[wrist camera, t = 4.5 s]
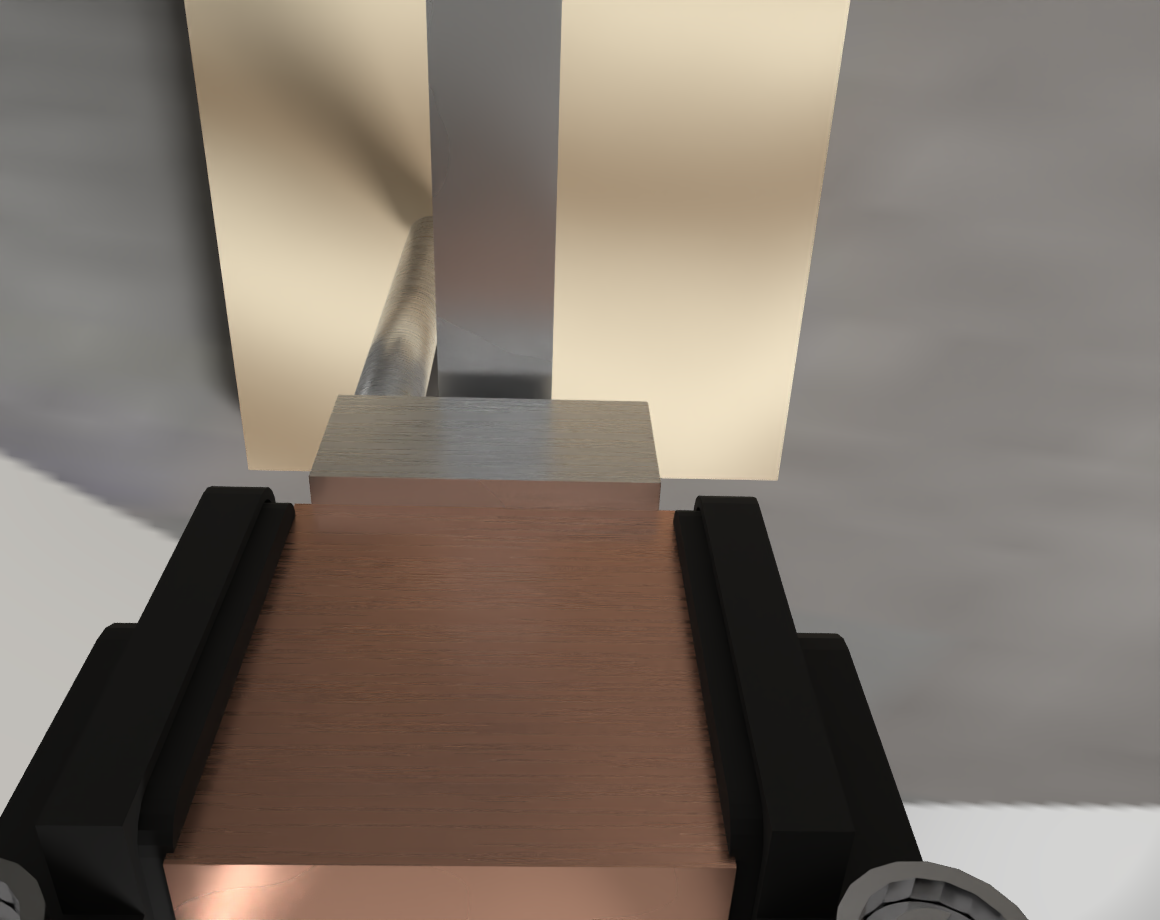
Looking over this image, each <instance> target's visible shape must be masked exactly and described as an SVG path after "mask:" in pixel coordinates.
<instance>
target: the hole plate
mask: <svg viewBox="0 0 1160 920" xmlns="http://www.w3.org/2000/svg"><path fill="white" fill-rule="evenodd" d="M184 4H185V11H186V18H187V25H188V33H189V40H190V47H191V54H192V62H193V69H194V76H195V83H196V91H197V98H198V105H199V112H200V120H201V127H202V134H203V142H204V149H205V156H206V163H207V171H208V178H209V185H210V192H211V200H212V207H213V214H214V221H215V229H216V236H217V243H218V250H219V258H220V265H221V272H222V279H223V287H224V294H225V301H226V309H227V316H228V323H229V330H230V338H231V345H232V352H233V359H234V367H235V374H236V381H237V388H238V396H239V403H240V410H241V417H242V425H243V432H244V439H245V447H246V454H247V461H248V468H249V470H280V471H311V469H312V466H313V463H314V460H315V458H316V455H317V452H318V449H319V447H320V444H321V441H322V438H323V435H324V433H325V430H326V427H327V424H328V422H329V419H330V416H331V413H332V411H333V408H334V405H335V402H336V400H337V397H338V395H354V394H355V391H356V388H357V385H358V382H359V379H360V376H361V373H362V370H363V367H364V364H365V361H366V358H367V355H368V352H369V349H370V346H371V343H372V340H373V337H374V334H375V331H376V328H377V325H378V322H379V319H380V316H381V313H382V310H383V307H384V304H385V301H386V298H387V295H388V293H389V290H390V287H391V284H392V281H393V278H394V275H395V272H396V269H397V266H398V263H399V260H400V257H401V254H402V251H403V248H404V245H405V242H406V239H407V236H408V233H409V230H410V228H411V226H412V225H413V224H414V223H415V222H416V221H417V220H419V219H420V218H422V217H426V216H433V206H432V176H431V145H430V115H429V84H428V54H427V23H426V0H184ZM849 5H850V0H562V20H561V58H560V96H559V134H558V172H557V209H556V247H555V285H554V323H553V361H552V399H555V400H600V401H645V402H648V405H649V412H650V418H651V424H652V430H653V437H654V443H655V449H656V455H657V462H658V468H659V474H660V478H685V479H735V480H778V474H779V467H780V460H781V454H782V447H783V441H784V434H785V427H786V421H787V414H788V408H789V401H790V394H791V388H792V381H793V375H794V368H795V361H796V355H797V348H798V342H799V335H800V328H801V322H802V315H803V309H804V302H805V295H806V289H807V282H808V276H809V269H810V262H811V256H812V249H813V243H814V236H815V229H816V223H817V216H818V210H819V203H820V196H821V190H822V183H823V177H824V170H825V163H826V157H827V150H828V144H829V137H830V130H831V124H832V117H833V111H834V104H835V97H836V91H837V84H838V78H839V71H840V64H841V58H842V51H843V45H844V38H845V31H846V25H847V18H848V12H849ZM426 397H439V390H438V359H437V345H436V350H435V354H434V359H433V364H432V368H431V373H430V378H429V383H428V387H427V392H426Z"/></svg>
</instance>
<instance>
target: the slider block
mask: <svg viewBox="0 0 1160 920" xmlns="http://www.w3.org/2000/svg"><path fill="white" fill-rule="evenodd" d="M436 345H437V329H436V298H435V267H434V237H433V216H426V217H422V218H420V219H419V220H417V221H416V222H415V223H414V224H413V225H412V226H411V228H410V230H409V233H408V236H407V239H406V242H405V245H404V248H403V251H402V254H401V257H400V260H399V263H398V266H397V269H396V272H395V275H394V278H393V281H392V284H391V287H390V290H389V293H388V295H387V298H386V301H385V304H384V307H383V310H382V313H381V316H380V319H379V322H378V325H377V328H376V331H375V334H374V337H373V340H372V343H371V346H370V349H369V352H368V355H367V358H366V361H365V364H364V367H363V370H362V373H361V376H360V379H359V382H358V385H357V388H356V391H355V394H354V395H338V397H337V400H336V402H335V405H334V408H333V411H332V413H331V416H330V419H329V422H328V424H327V427H326V430H325V433H324V435H323V438H322V441H321V444H320V447H319V449H318V452H317V455H316V458H315V460H314V463H313V466H312V469H311V471H310V474H309V483H310V493H311V502H312V504H295V506H294V509H295V514H296V515H295V518H294V520H293V523H292V526H291V529H290V531H289V534H288V537H287V540H286V543H285V545H284V548H283V551H282V554H281V556H280V559H279V562H278V565H277V568H276V570H275V573H274V576H273V579H272V581H271V584H270V587H269V590H268V593H267V595H266V598H265V601H264V604H263V606H262V609H261V612H260V615H259V618H258V620H257V623H256V626H255V629H254V631H253V634H252V637H251V640H250V643H249V645H248V648H247V651H246V654H245V656H244V659H243V662H242V665H241V668H240V670H239V673H238V676H237V679H236V681H235V684H234V687H233V690H232V693H231V695H230V698H229V701H228V704H227V706H226V709H225V712H224V715H223V718H222V720H221V723H220V726H219V729H218V731H217V734H216V737H215V740H214V743H213V745H212V748H211V751H210V754H209V756H208V759H207V762H206V765H205V768H204V770H203V773H202V776H201V779H200V781H199V784H198V787H197V790H196V793H195V795H194V798H193V801H192V804H191V806H190V809H189V812H188V815H187V818H186V820H185V823H184V826H183V829H182V831H181V834H180V837H179V840H178V843H177V845H176V848H175V851H174V853H167V855H166V857H165V860H164V863H163V867H164V871H165V875H166V880H167V884H168V888H169V892H170V897H171V901H172V905H173V909H174V914H175V918H176V920H728V917H729V911H730V905H731V899H732V893H733V887H734V881H735V874H736V862H735V857H729V852H728V846H727V840H726V834H725V828H724V822H723V816H722V810H721V804H720V798H719V792H718V786H717V780H716V774H715V768H714V762H713V757H712V751H711V745H710V739H709V733H708V727H707V721H706V715H705V709H704V703H703V697H702V691H701V685H700V679H699V673H698V667H697V661H696V655H695V649H694V643H693V637H692V631H691V625H690V619H689V613H688V607H687V601H686V595H685V590H684V584H683V578H682V572H681V566H680V560H679V554H678V548H677V542H676V536H675V530H674V524H673V518H674V513H675V511H661V510H659V500H660V488H661V480H660V474H659V468H658V462H657V455H656V449H655V443H654V437H653V430H652V424H651V418H650V412H649V405H648V402H645V401H600V400H555V399H511V398H466V397H426V392H427V387H428V383H429V378H430V373H431V368H432V364H433V359H434V354H435V350H436Z"/></svg>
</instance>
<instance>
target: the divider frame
mask: <svg viewBox="0 0 1160 920" xmlns="http://www.w3.org/2000/svg"><path fill="white" fill-rule="evenodd" d="M561 20H562V0H426V23H427V54H428V84H429V115H430V145H431V176H432V206H433V237H434V267H435V298H436V329H437V359H438V390H439V397H466V398H511V399H552V361H553V323H554V285H555V247H556V209H557V172H558V134H559V96H560V58H561Z"/></svg>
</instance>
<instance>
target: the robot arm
mask: <svg viewBox="0 0 1160 920" xmlns="http://www.w3.org/2000/svg"><path fill="white" fill-rule="evenodd" d="M295 515H296V514H295V509H294V507H293V505H292V504H291V503H276V502H275V497H274V494H273V492H272V490H271V489H270V488H269V487H223V486H211V487H208V488H207V489H206V490H205V492H204V493H203V495H202V497H201V499H200V501H199V503H198V505H197V507H196V509H195V511H194V513H193V515H192V517H191V519H190V521H189V523H188V525H187V527H186V529H185V531H184V532H183V534H182V536H181V538H180V540H179V542H178V544H177V546H176V548H175V550H174V552H173V554H172V557H171V558H170V560H169V562H168V564H167V566H166V568H165V570H164V572H163V574H162V576H161V578H160V580H159V582H158V584H157V586H156V588H155V590H154V592H153V594H152V596H151V598H150V600H149V602H148V604H147V606H146V607H145V610H144V612H143V613H142V616H141V617H140V619H139V621H138V623H114V624H112V625H110V626H108V627H106V628H105V629H104V631H103V632H102V634H101V635H100V636H99V638H98V639H97V641H96V643H95V644H94V646H93V648H92V650H91V652H90V654H89V655H88V657H87V659H86V661H85V663H84V665H83V666H82V668H81V670H80V672H79V674H78V676H77V677H76V679H75V681H74V683H73V685H72V687H71V688H70V690H69V692H68V694H67V696H66V698H65V699H64V701H63V703H62V705H61V707H60V709H59V710H58V713H57V714H56V716H55V718H54V720H53V722H52V723H51V725H50V727H49V729H48V731H47V732H46V734H45V736H44V738H43V740H42V742H41V744H40V745H39V747H38V749H37V751H36V753H35V755H34V756H33V758H32V760H31V762H30V764H29V765H28V767H27V769H26V771H25V773H24V775H23V777H22V778H21V780H20V782H19V784H18V786H17V787H16V789H15V791H14V793H13V795H12V797H11V798H10V800H9V802H8V804H7V806H6V808H5V809H4V811H3V813H2V815H1V817H0V920H176V918H175V914H174V909H173V905H172V901H171V897H170V892H169V888H168V884H167V880H166V875H165V871H164V867H163V863H164V860H165V857H166V855H167V853H174V851H175V848H176V845H177V843H178V840H179V837H180V834H181V831H182V829H183V826H184V823H185V820H186V818H187V815H188V812H189V809H190V806H191V804H192V801H193V798H194V795H195V793H196V790H197V787H198V784H199V781H200V779H201V776H202V773H203V770H204V768H205V765H206V762H207V759H208V756H209V754H210V751H211V748H212V745H213V743H214V740H215V737H216V734H217V731H218V729H219V726H220V723H221V720H222V718H223V715H224V712H225V709H226V706H227V704H228V701H229V698H230V695H231V693H232V690H233V687H234V684H235V681H236V679H237V676H238V673H239V670H240V668H241V665H242V662H243V659H244V656H245V654H246V651H247V648H248V645H249V643H250V640H251V637H252V634H253V631H254V629H255V626H256V623H257V620H258V618H259V615H260V612H261V609H262V606H263V604H264V601H265V598H266V595H267V593H268V590H269V587H270V584H271V581H272V579H273V576H274V573H275V570H276V568H277V565H278V562H279V559H280V556H281V554H282V551H283V548H284V545H285V543H286V540H287V537H288V534H289V531H290V529H291V526H292V523H293V520H294V518H295ZM673 524H674V530H675V536H676V542H677V548H678V554H679V560H680V566H681V572H682V578H683V584H684V590H685V595H686V601H687V607H688V613H689V619H690V625H691V631H692V637H693V643H694V649H695V655H696V661H697V667H698V673H699V679H700V685H701V691H702V697H703V703H704V709H705V715H706V721H707V727H708V733H709V739H710V745H711V751H712V757H713V762H714V768H715V774H716V780H717V786H718V792H719V798H720V804H721V810H722V816H723V822H724V828H725V834H726V840H727V846H728V852H729V857H735V862H736V874H735V881H734V887H733V893H732V899H731V905H730V911H729V917H728V920H1028V919H1027V918H1026V916H1025V915H1024V914H1023V913H1022V911H1021V910H1020V909H1019V908H1018V907H1017V906H1016V905H1015V904H1014V903H1012V902H1011V901H1010V900H1009V899H1007V898H1006V897H1005V896H1004V895H1002V894H1001V893H1000V892H999V891H997V890H996V889H995V888H994V887H992V886H991V885H990V884H988V883H985V882H984V881H982V880H979V879H977V878H975V877H973V876H971V875H969V874H967V873H965V872H963V871H961V870H959V869H956V868H951V867H947V866H943V865H939V864H935V863H931V862H923V860H922V857H921V855H920V851H919V849H918V846H917V843H916V840H915V837H914V834H913V831H912V829H911V826H910V823H909V820H908V817H907V814H906V811H905V809H904V806H903V803H902V800H901V797H900V794H899V792H898V789H897V786H896V783H895V780H894V777H893V774H892V772H891V769H890V766H889V763H888V760H887V757H886V755H885V752H884V749H883V746H882V743H881V740H880V737H879V735H878V732H877V729H876V726H875V723H874V720H873V717H872V715H871V712H870V709H869V706H868V703H867V700H866V698H865V695H864V692H863V689H862V686H861V683H860V680H859V678H858V675H857V672H856V669H855V666H854V663H853V660H852V658H851V655H850V652H849V649H848V647H847V645H846V643H845V641H844V639H843V638H842V637H841V636H840V635H838V634H831V633H797V632H796V629H795V626H794V622H793V619H792V615H791V612H790V609H789V605H788V602H787V599H786V595H785V592H784V588H783V585H782V582H781V578H780V575H779V571H778V568H777V565H776V561H775V558H774V554H773V551H772V548H771V544H770V541H769V538H768V534H767V531H766V527H765V524H764V521H763V517H762V514H761V510H760V507H759V504H758V501H757V499H756V498H755V497H736V496H698V497H697V498H696V502H695V505H694V511H689V510H676V511H675V513H674V518H673Z"/></svg>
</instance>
